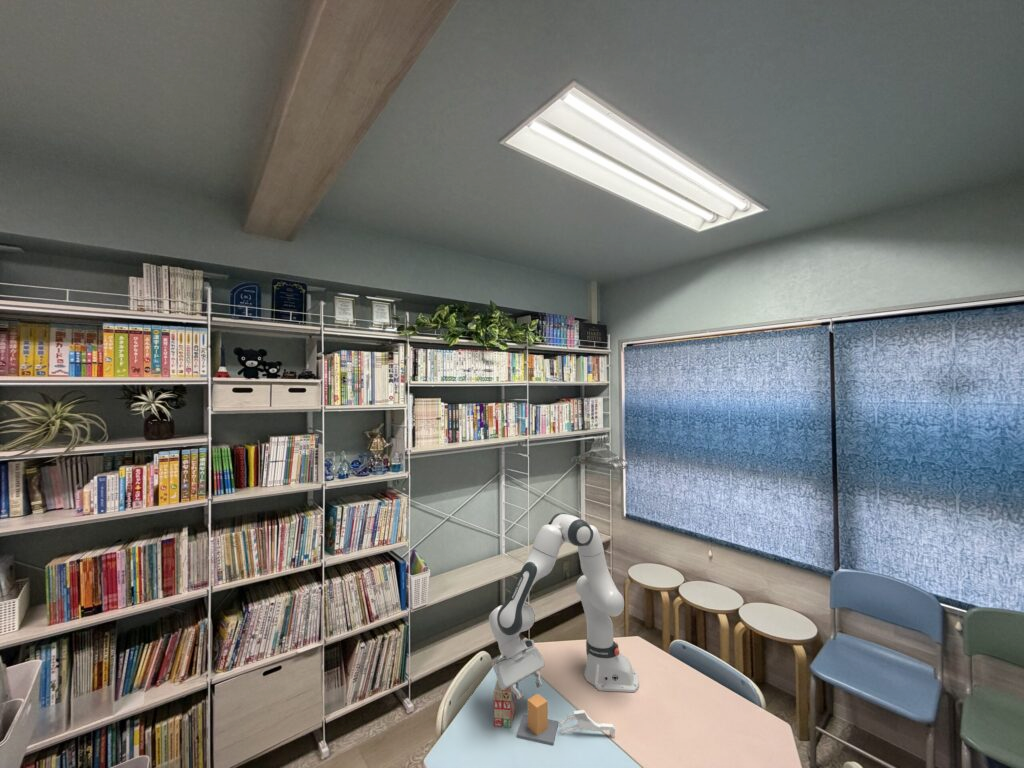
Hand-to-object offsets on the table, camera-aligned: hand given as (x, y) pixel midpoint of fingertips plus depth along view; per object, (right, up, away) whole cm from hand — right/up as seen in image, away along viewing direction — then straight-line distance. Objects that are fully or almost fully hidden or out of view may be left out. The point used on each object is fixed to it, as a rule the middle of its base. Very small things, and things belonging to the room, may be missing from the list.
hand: (530, 692), depth 143 cm
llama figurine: (+19, -11, -6) cm, 23 cm away
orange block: (+2, -10, -4) cm, 11 cm away
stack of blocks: (-9, -12, +8) cm, 17 cm away
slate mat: (+2, -10, -4) cm, 11 cm away
